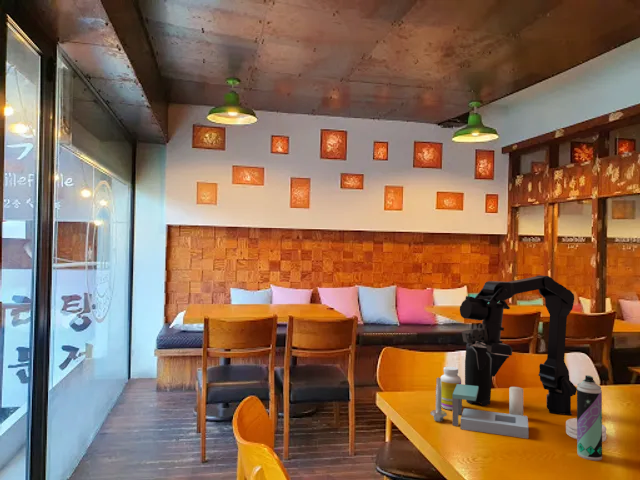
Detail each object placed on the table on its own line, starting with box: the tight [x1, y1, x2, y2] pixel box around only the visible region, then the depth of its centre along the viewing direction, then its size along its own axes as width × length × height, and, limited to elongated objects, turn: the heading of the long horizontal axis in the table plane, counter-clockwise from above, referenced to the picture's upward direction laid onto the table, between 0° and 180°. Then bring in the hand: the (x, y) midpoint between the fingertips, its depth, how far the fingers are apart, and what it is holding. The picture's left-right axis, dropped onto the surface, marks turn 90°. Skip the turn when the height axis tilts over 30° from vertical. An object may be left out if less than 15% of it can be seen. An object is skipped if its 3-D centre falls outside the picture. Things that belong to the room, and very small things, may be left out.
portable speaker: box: [464, 343, 492, 407], centre depth 163 cm, size 9×9×20 cm
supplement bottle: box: [440, 366, 462, 411], centre depth 157 cm, size 7×7×13 cm
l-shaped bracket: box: [452, 383, 478, 427], centre depth 145 cm, size 6×12×9 cm, turn 158°
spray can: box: [576, 374, 603, 461], centre depth 120 cm, size 6×6×20 cm
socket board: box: [460, 407, 529, 439], centre depth 139 cm, size 18×10×3 cm, turn 68°
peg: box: [508, 386, 524, 416], centre depth 148 cm, size 4×4×9 cm
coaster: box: [565, 417, 607, 443], centre depth 134 cm, size 10×10×4 cm
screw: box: [430, 376, 448, 423], centre depth 145 cm, size 13×5×5 cm
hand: (486, 373), depth 145 cm, fingers open, 9 cm apart
